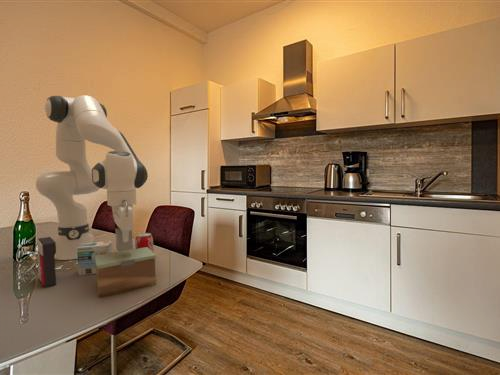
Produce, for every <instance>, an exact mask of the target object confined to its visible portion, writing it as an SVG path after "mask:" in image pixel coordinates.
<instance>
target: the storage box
mask: <svg viewBox="0 0 500 375" xmlns="http://www.w3.org/2000/svg"><path fill="white" fill-rule="evenodd" d="M95 275H96V285H97V293H98V297H99V298H102V297H107V296H111V295H115V294H116V295H117V294H119V293H123V292H128V291H132V290H136V289H141V288H144V287H149V286H153V285H156V284H157V278H156V276H157V274H156V258H153V259H148V260H142V261H137V262H135V264H134V265H129V266H123V267H121V265H116V266H110V267H105V268H99V269H97V267H96V274H95Z"/></svg>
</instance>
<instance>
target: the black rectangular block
mask: <svg viewBox="0 0 500 375" xmlns="http://www.w3.org/2000/svg"><path fill="white" fill-rule="evenodd" d="M36 243H37V251H36V252H37V264H38V278H39V280H40V283H41V284H42V286H43V287H45V288H49V287H52V286H56V285H57V276H56V261H55V260H56V259H54V255H55V254H56V243H55V240H54V239H53V238H52V237H50V236H48V237H47V236H46V237H41V238H38V239H37V240H36Z"/></svg>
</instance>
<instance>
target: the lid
mask: <svg viewBox="0 0 500 375" xmlns="http://www.w3.org/2000/svg"><path fill="white" fill-rule="evenodd" d="M156 256H157V255H156V254H155V253H153V252H152V251H151V250H150V249H149V248H148V247H144V248H138V249H135V248H133V249H131V250H125V251H119V252H118V251H116V252H115V251H114V252H112V253H108V254H101V255H95V262H96V267H97V269H99V268H105V267H110V266H116V265H121V267H123V266H129V265H134V264H135V262H137V261H142V260H148V259H153V258H155V259H156Z"/></svg>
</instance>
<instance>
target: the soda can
mask: <svg viewBox="0 0 500 375" xmlns="http://www.w3.org/2000/svg"><path fill="white" fill-rule="evenodd" d="M134 244H135V246H134V247H135V248H134V249H138V248H144V247H148V248H149V249H150V250H151V251H152V252H153V253H154V250H155V249H154V238H153V236H152V233H150V232H142V233H137V234H136V237H135V243H134ZM154 254H155V253H154Z"/></svg>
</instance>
